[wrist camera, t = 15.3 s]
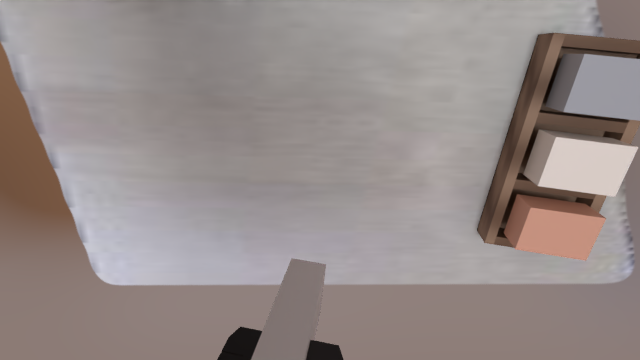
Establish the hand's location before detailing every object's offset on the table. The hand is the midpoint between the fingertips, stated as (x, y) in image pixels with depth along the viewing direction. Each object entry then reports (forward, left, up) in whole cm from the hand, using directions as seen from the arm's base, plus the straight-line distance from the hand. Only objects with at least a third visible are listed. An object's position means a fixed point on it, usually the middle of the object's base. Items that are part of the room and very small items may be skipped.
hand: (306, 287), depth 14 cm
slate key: (-9, +22, -24) cm, 34 cm away
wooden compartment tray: (-2, +22, -26) cm, 34 cm away
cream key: (-2, +22, -24) cm, 32 cm away
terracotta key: (+5, +22, -23) cm, 33 cm away
